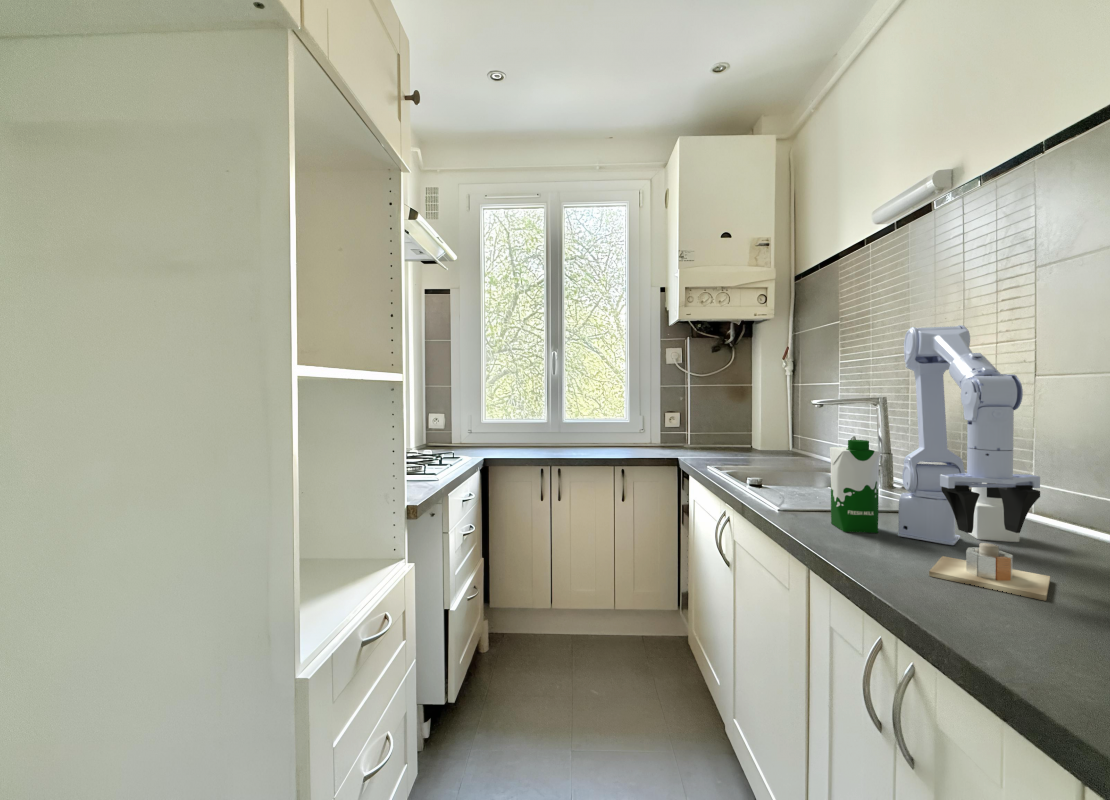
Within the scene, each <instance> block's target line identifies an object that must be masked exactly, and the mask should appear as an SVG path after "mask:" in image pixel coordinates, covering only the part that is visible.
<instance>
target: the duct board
mask: <svg viewBox="0 0 1110 800" xmlns="http://www.w3.org/2000/svg"><path fill="white" fill-rule="evenodd" d="M999 550H1000V549H999V545H997V544H993V543H987V542H981V543H979V554H982V555H988V556H994V557H999ZM928 576H929V577H933V578H937V579H942V580H947V581H951V582H956V583H961V584H964V583H965V585H969V584H971V585H970V586H974V585H975V586H974V587H978V586H979V588H983V587H984V589H988V590H992V589H993V591H997V590H998V591H999V592H1002V591H1003V592H1002V593H1006V592H1007V593H1008V594H1011V593H1012V595H1017V596H1020V595H1021V597H1024V598H1025V597H1026V598H1030V599H1036V600H1040V601H1045V602H1046V601H1047V598H1048V595H1049V594H1048V593H1049V588H1050V584H1051V576H1050V575H1046V574H1039V573H1035V572H1029V571H1024V570H1019V569H1015V568H1013V577H1012V580H992V579H987V578H982V577H978V576H975V575H973V574H971V573H969V572H967V571H966V559H960V558H955V557H950V556H945V555H944V556H943V555H941V557H940V558H939V559H938V560H937V562H935V564H934V565H933V566H932V567H931V568H930V569H929V571H928Z"/></svg>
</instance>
